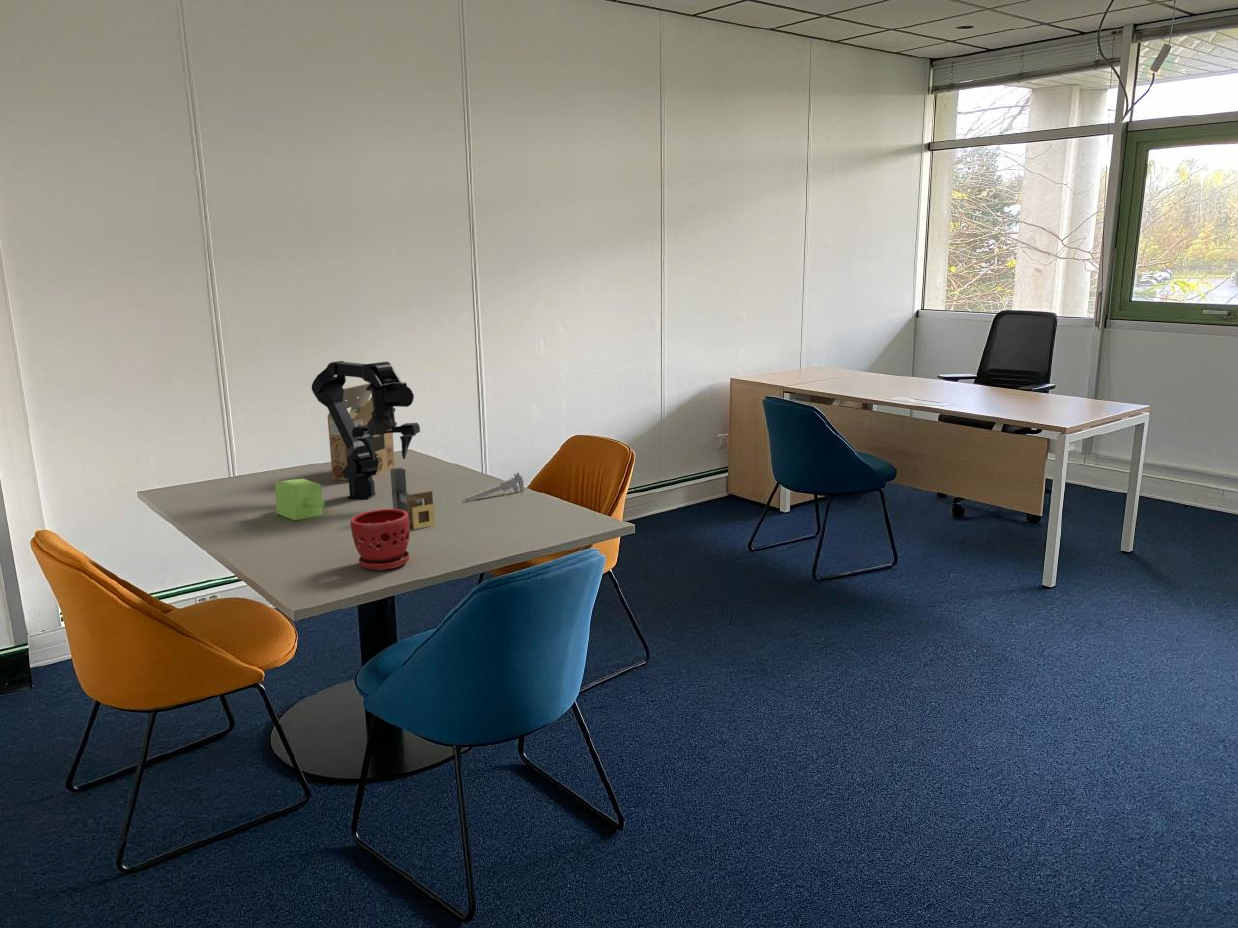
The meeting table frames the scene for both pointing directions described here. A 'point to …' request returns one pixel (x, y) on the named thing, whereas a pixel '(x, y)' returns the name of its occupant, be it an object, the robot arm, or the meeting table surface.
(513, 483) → the caliper
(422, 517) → the plate
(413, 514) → the frame
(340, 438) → the box
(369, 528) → the plant pot
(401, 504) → the steel shaft
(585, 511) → the meeting table surface
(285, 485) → the gearbox
